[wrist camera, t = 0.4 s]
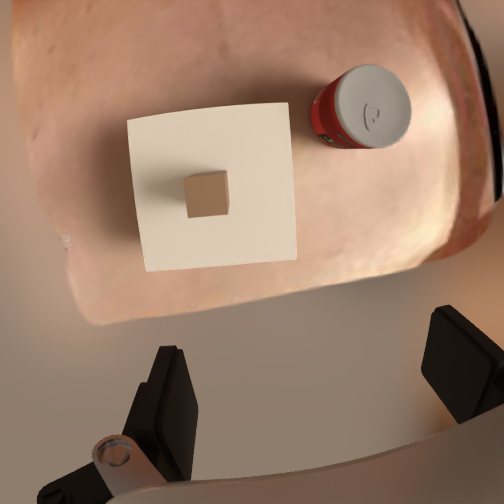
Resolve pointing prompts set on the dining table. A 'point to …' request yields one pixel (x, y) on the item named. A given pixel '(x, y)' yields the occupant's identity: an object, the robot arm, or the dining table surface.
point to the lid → (214, 186)
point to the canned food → (362, 109)
